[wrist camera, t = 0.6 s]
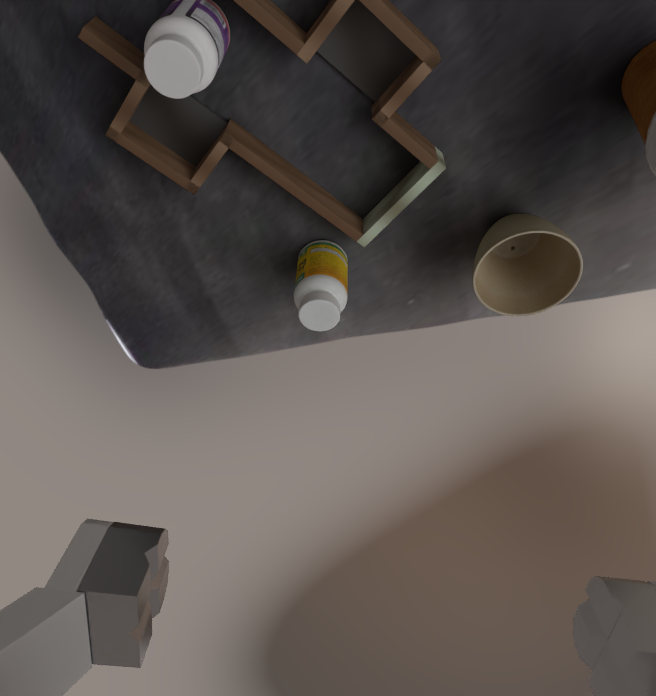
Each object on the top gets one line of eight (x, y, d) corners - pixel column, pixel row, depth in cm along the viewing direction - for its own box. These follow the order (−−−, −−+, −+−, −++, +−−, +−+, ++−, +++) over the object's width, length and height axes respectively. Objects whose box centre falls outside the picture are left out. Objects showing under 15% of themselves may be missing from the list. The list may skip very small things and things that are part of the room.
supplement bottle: (344, 281, 65) (342, 340, 58) (296, 276, 65) (289, 334, 58) (351, 241, 62) (350, 298, 55) (300, 234, 61) (293, 291, 54)
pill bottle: (171, 63, 50) (141, 107, 43) (159, -9, 46) (124, 26, 39) (234, 65, 50) (215, 109, 43) (228, -7, 46) (205, 29, 39)
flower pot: (484, 182, 57) (497, 221, 51) (581, 202, 58) (603, 242, 53) (449, 265, 63) (458, 307, 58) (536, 281, 64) (552, 324, 59)
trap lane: (195, -191, 39) (186, -190, 37) (493, 103, 51) (499, 116, 49) (62, 84, 52) (49, 97, 49) (327, 267, 64) (326, 283, 62)
